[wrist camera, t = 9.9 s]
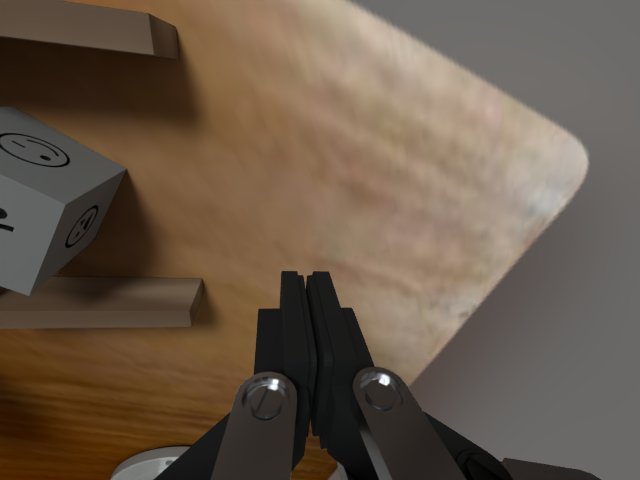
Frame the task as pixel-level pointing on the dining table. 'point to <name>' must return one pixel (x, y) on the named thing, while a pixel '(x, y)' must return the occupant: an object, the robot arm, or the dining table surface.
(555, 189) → the dining table surface
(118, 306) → the box
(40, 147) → the dice cube
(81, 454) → the dining table surface
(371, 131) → the dining table surface
